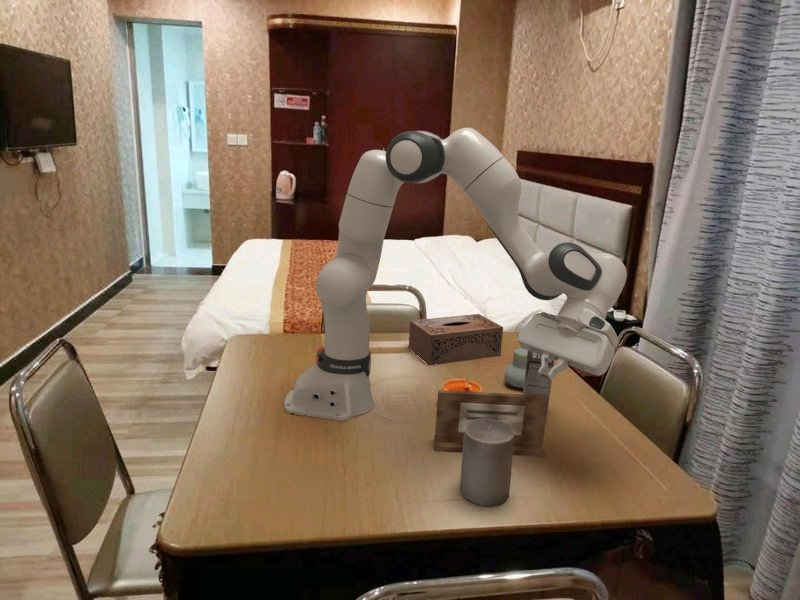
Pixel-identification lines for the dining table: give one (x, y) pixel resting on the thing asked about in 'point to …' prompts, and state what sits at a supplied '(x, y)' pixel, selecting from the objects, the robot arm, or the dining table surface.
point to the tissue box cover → (455, 338)
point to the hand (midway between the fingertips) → (544, 376)
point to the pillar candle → (487, 461)
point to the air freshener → (517, 368)
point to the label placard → (509, 408)
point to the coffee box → (536, 377)
